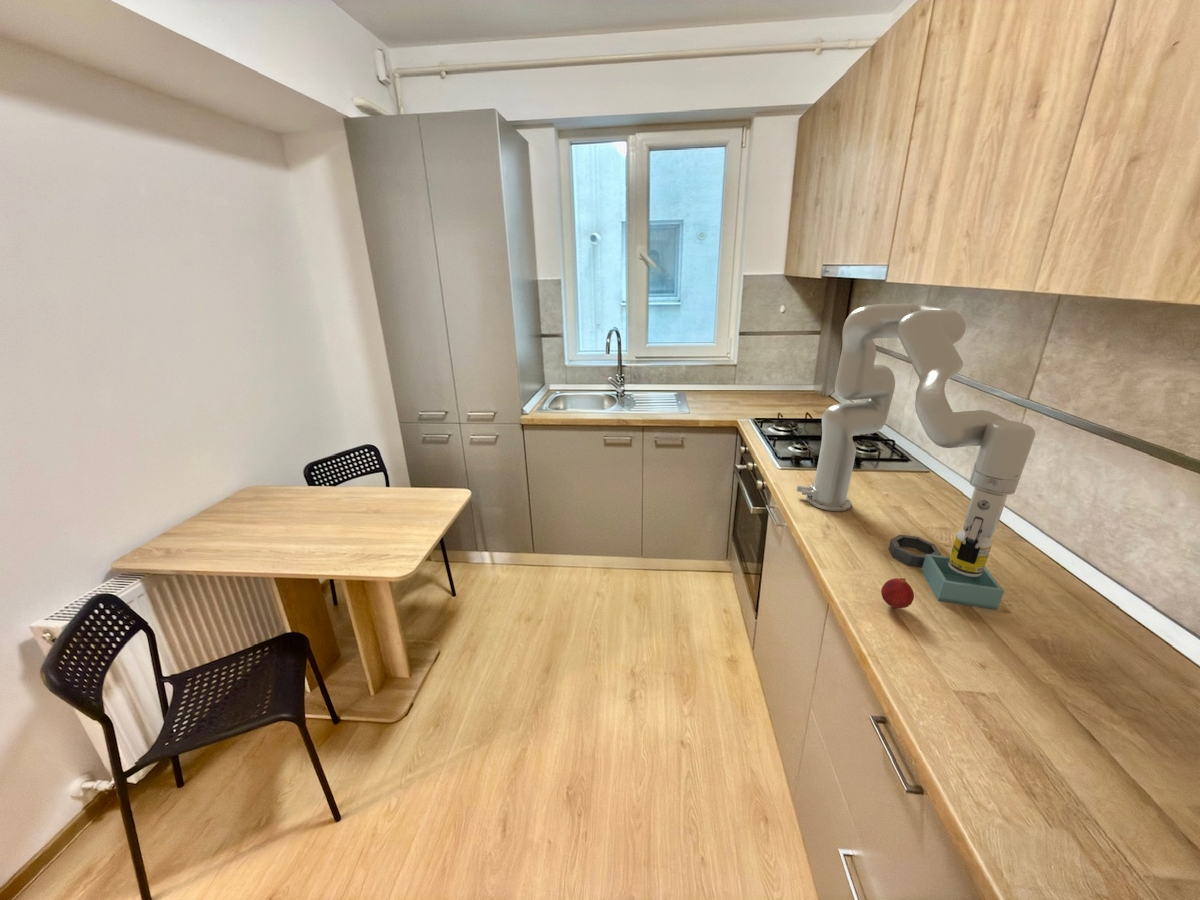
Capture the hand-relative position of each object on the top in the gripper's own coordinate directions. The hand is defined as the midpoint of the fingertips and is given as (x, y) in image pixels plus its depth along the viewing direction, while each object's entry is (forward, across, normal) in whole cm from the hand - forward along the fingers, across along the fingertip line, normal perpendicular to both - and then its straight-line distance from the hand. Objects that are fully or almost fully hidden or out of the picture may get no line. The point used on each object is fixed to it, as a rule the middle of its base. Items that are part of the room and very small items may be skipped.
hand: (969, 553), depth 103 cm
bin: (+10, 0, 0) cm, 10 cm away
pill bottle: (+4, 0, 0) cm, 4 cm away
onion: (+10, -17, +8) cm, 21 cm away
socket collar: (+10, +8, +11) cm, 16 cm away
